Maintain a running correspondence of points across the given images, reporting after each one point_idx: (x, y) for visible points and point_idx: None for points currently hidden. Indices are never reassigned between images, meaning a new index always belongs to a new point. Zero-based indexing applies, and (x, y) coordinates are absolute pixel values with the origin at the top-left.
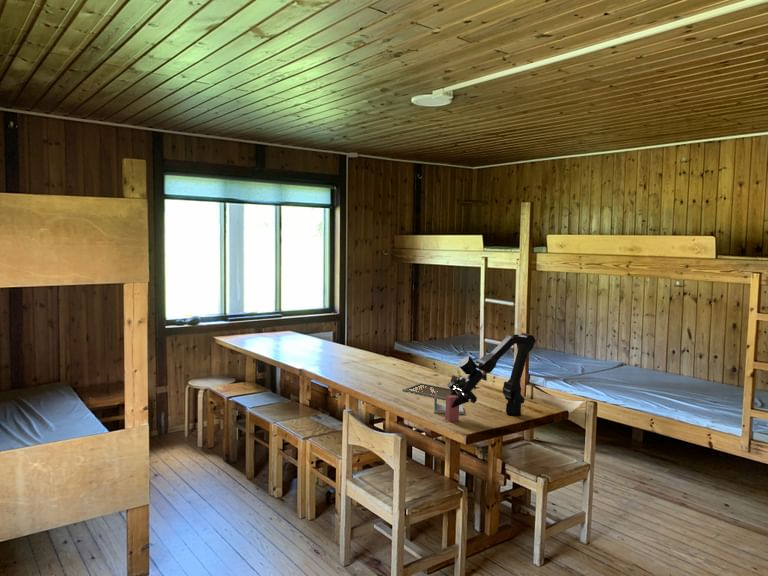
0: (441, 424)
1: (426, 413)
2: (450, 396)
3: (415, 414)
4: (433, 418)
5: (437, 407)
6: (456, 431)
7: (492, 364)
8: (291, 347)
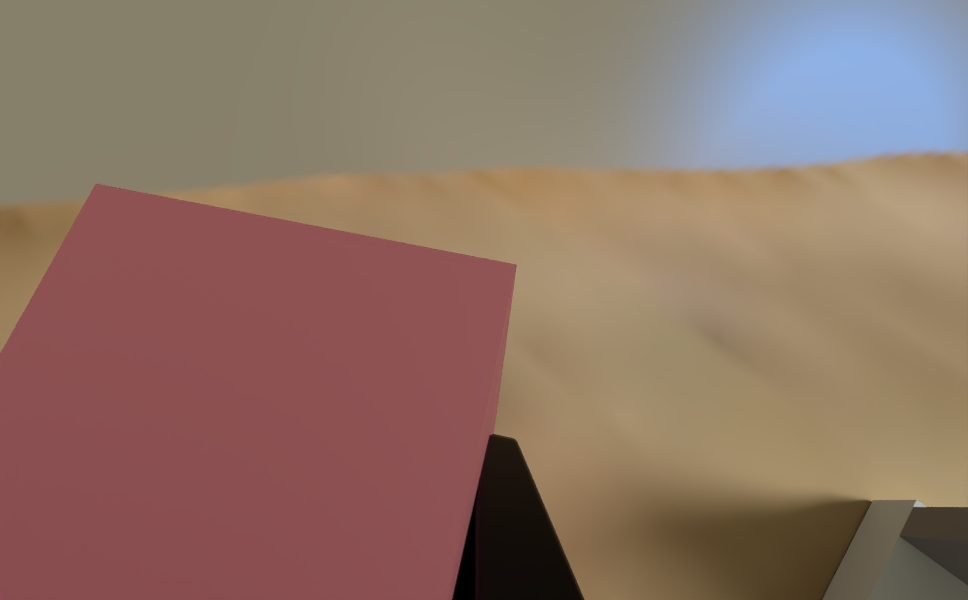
0: (335, 228)
1: (876, 361)
2: (262, 384)
3: (866, 192)
4: (608, 297)
5: None
6: (12, 217)
7: None
8: None
